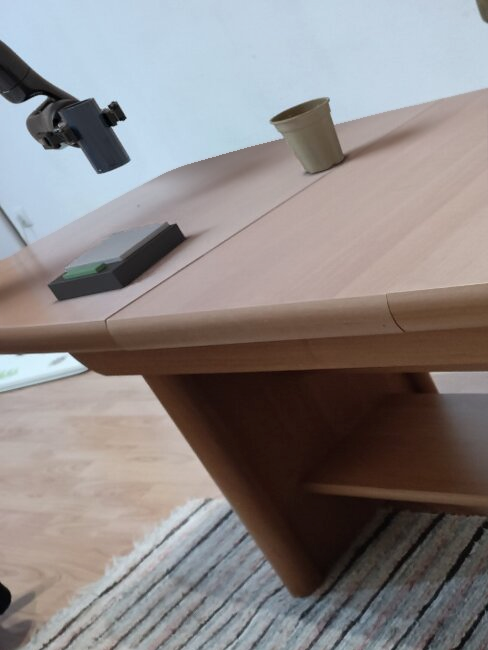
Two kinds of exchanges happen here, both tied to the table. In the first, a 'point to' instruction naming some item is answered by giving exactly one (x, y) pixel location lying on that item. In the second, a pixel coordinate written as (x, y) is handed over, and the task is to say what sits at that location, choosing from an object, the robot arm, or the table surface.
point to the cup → (95, 135)
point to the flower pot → (310, 134)
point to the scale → (116, 260)
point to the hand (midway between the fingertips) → (92, 127)
